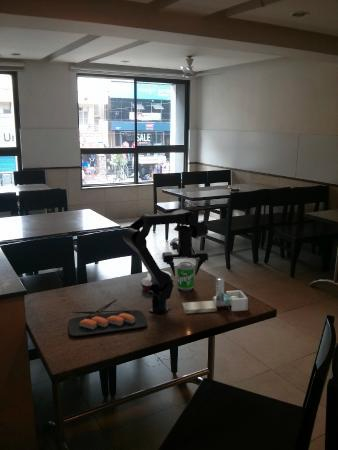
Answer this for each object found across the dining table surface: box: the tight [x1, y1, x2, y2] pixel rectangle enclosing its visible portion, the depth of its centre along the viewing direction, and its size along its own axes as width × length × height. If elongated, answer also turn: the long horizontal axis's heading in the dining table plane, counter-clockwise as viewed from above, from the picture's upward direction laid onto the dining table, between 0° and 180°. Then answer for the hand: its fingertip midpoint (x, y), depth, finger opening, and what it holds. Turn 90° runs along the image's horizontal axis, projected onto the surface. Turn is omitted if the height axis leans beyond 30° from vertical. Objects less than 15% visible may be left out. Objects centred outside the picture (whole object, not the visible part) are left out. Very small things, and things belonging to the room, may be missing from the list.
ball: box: [229, 296, 238, 307], centre depth 170 cm, size 4×4×4 cm
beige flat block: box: [181, 300, 218, 314], centre depth 168 cm, size 13×7×2 cm, turn 98°
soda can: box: [177, 261, 195, 292], centre depth 188 cm, size 8×8×12 cm
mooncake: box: [146, 269, 172, 278], centre depth 200 cm, size 12×12×4 cm
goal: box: [225, 289, 249, 312], centre depth 170 cm, size 6×9×5 cm
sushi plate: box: [67, 299, 148, 337], centre depth 162 cm, size 29×30×4 cm
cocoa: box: [140, 276, 152, 293], centre depth 185 cm, size 10×6×12 cm, turn 27°
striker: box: [212, 277, 231, 307], centre depth 168 cm, size 6×6×11 cm
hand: (185, 275), depth 172 cm, fingers open, 9 cm apart
